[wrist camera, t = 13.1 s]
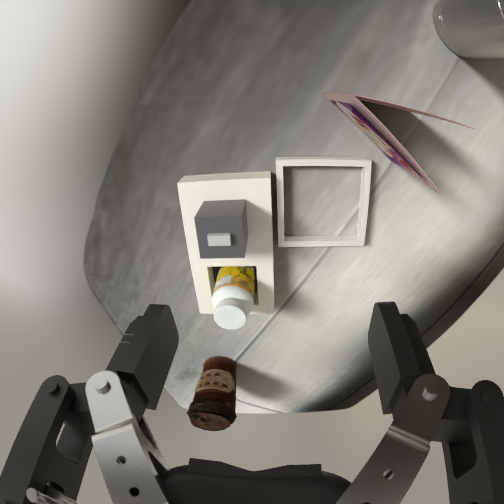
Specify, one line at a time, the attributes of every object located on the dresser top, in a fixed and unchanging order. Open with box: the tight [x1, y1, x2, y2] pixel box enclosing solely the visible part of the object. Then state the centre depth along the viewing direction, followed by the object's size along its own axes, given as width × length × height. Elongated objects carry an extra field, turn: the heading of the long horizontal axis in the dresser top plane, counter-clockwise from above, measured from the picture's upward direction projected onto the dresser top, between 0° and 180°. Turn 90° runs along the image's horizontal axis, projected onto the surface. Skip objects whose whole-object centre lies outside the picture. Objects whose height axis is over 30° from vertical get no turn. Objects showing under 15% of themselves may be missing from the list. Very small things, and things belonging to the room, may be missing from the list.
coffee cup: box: [187, 357, 237, 431], centre depth 50 cm, size 9×8×13 cm
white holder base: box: [177, 171, 274, 314], centre depth 38 cm, size 11×20×9 cm, turn 3°
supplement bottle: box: [212, 266, 255, 330], centre depth 40 cm, size 5×5×10 cm
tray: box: [276, 157, 372, 247], centre depth 38 cm, size 12×12×2 cm
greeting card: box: [321, 93, 477, 198], centre depth 25 cm, size 11×7×15 cm, turn 51°
